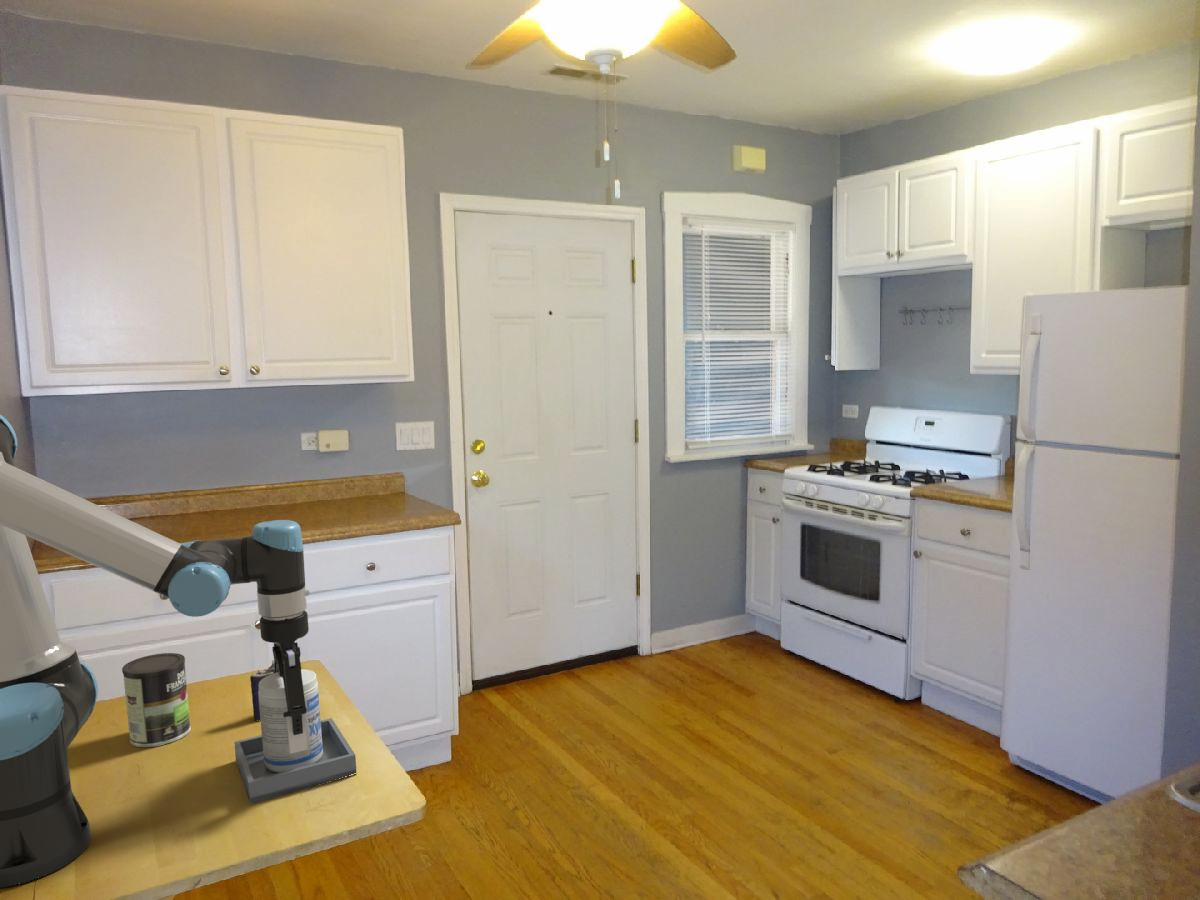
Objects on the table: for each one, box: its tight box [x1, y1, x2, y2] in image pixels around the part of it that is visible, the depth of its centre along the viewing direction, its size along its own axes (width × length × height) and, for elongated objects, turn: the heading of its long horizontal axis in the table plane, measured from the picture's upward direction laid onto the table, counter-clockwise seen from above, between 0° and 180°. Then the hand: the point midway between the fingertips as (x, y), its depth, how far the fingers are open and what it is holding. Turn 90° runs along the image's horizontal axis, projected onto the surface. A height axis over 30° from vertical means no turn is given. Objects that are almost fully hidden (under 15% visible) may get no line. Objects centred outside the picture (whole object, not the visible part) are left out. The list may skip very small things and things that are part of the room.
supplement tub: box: [258, 668, 323, 773], centre depth 141 cm, size 10×10×15 cm
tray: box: [234, 717, 357, 805], centre depth 142 cm, size 17×17×4 cm
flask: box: [249, 660, 274, 722], centre depth 163 cm, size 9×3×11 cm, turn 136°
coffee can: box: [121, 652, 192, 748], centre depth 155 cm, size 10×10×14 cm
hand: (292, 734), depth 142 cm, fingers open, 13 cm apart
